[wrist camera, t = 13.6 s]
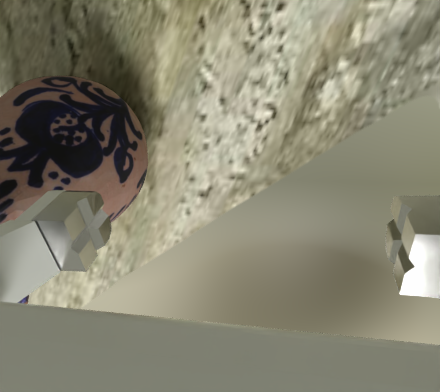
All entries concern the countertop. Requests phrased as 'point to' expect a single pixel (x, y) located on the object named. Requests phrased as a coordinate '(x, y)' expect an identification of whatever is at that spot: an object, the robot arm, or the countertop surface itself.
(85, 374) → the robot arm
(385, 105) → the countertop surface
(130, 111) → the ceramic pitcher
